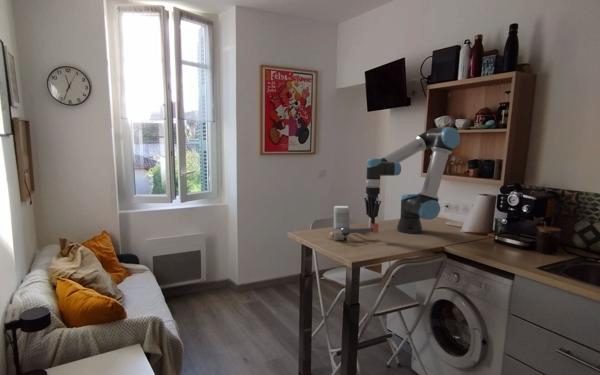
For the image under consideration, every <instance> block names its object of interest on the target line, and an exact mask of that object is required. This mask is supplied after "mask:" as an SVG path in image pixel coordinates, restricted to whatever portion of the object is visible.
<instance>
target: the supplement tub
mask: <svg viewBox="0 0 600 375" xmlns="http://www.w3.org/2000/svg"><path fill="white" fill-rule="evenodd" d="M342 227H347V228H350V207H349V206H347V205H335V206H333V229H335V230H341V228H342Z"/></svg>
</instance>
